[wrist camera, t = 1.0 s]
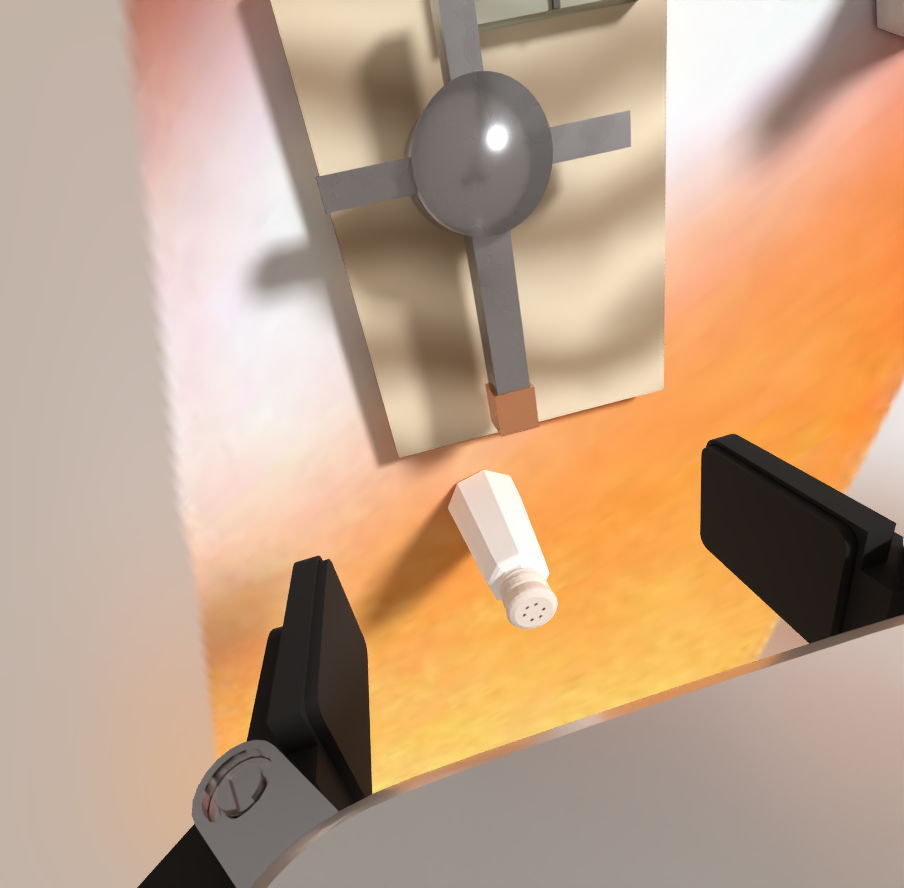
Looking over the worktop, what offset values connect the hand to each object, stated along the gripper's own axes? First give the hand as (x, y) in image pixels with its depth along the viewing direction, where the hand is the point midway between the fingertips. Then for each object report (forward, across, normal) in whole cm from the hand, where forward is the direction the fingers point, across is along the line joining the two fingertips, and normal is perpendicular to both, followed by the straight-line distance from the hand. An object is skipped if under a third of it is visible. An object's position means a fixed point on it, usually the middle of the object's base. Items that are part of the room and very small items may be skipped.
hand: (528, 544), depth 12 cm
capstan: (+18, -4, -6) cm, 19 cm away
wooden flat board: (+20, -6, -6) cm, 22 cm away
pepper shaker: (+20, -2, +12) cm, 24 cm away
